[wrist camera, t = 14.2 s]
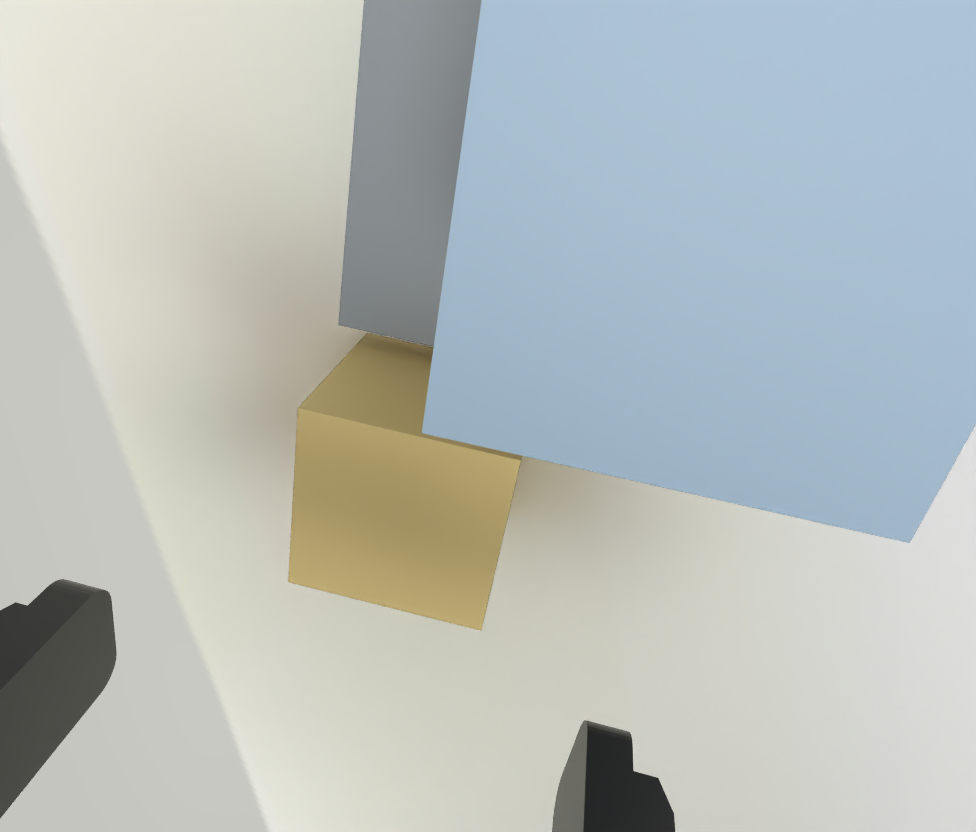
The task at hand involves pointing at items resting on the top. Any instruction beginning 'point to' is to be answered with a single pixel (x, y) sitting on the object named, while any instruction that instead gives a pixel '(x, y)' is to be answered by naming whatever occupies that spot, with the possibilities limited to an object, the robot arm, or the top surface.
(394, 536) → the ochre brick
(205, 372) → the top surface
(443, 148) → the slate board
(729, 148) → the blue brick
